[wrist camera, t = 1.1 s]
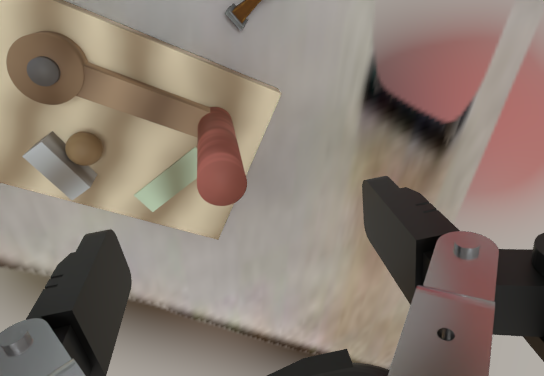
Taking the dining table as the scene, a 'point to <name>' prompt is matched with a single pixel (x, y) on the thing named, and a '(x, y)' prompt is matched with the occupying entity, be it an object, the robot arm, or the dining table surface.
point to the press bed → (121, 123)
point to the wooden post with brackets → (241, 12)
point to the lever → (130, 106)
